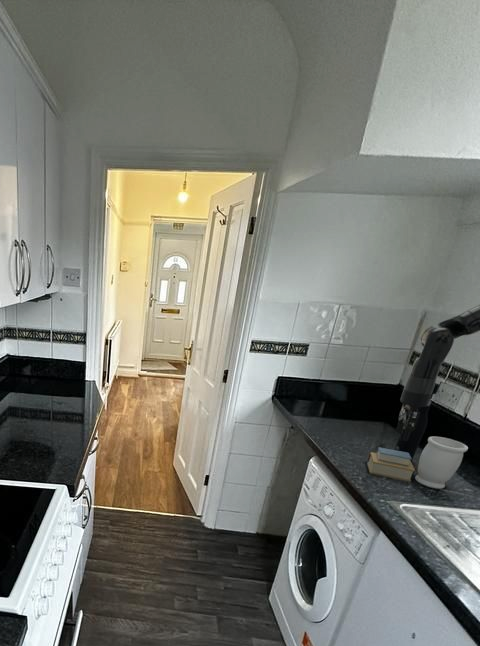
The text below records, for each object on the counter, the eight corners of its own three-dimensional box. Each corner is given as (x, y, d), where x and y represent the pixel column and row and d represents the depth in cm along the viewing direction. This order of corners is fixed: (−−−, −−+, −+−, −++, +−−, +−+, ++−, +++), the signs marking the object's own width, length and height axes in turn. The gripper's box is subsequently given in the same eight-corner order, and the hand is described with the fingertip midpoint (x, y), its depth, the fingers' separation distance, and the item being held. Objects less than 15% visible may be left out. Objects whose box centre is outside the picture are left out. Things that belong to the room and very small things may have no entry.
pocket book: (405, 460, 145) (408, 452, 144) (408, 466, 140) (411, 458, 139) (375, 454, 149) (378, 447, 147) (377, 460, 144) (380, 452, 143)
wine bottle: (413, 461, 156) (447, 385, 143) (406, 465, 152) (440, 387, 140) (395, 455, 160) (426, 380, 148) (387, 458, 157) (418, 382, 144)
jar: (453, 493, 134) (474, 452, 127) (416, 486, 137) (435, 445, 130) (441, 479, 143) (460, 439, 137) (406, 472, 146) (423, 433, 140)
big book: (405, 470, 148) (409, 459, 146) (410, 481, 140) (415, 470, 138) (366, 462, 153) (370, 451, 151) (369, 473, 145) (373, 461, 143)
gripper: (437, 397, 127) (418, 445, 133) (427, 387, 139) (410, 432, 145) (408, 393, 130) (391, 440, 136) (400, 383, 142) (385, 427, 148)
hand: (401, 436), depth 141 cm, fingers open, 8 cm apart
